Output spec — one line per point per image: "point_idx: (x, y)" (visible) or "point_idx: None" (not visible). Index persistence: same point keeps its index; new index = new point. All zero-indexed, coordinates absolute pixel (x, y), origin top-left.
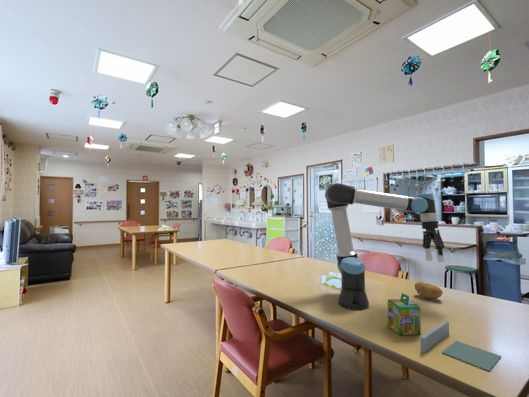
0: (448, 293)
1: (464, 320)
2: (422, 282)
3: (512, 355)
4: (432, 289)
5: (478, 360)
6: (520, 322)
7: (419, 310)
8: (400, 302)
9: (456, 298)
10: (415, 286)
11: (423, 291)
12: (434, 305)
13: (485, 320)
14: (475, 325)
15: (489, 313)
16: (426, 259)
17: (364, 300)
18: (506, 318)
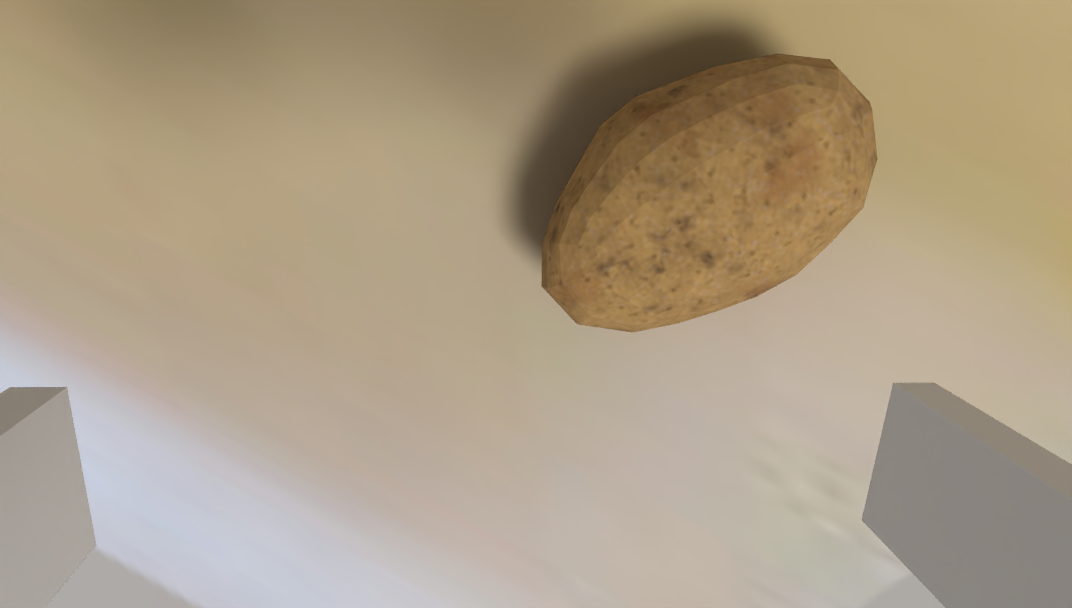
0: (826, 465)
1: (111, 225)
2: (797, 173)
3: None
4: (571, 208)
5: None
6: (192, 585)
7: None
8: None
9: (674, 458)
10: (790, 57)
11: (628, 106)
12: (451, 140)
13: (162, 390)
14: (27, 255)
15: (325, 502)
16: (950, 397)
17: None
18: (246, 550)
